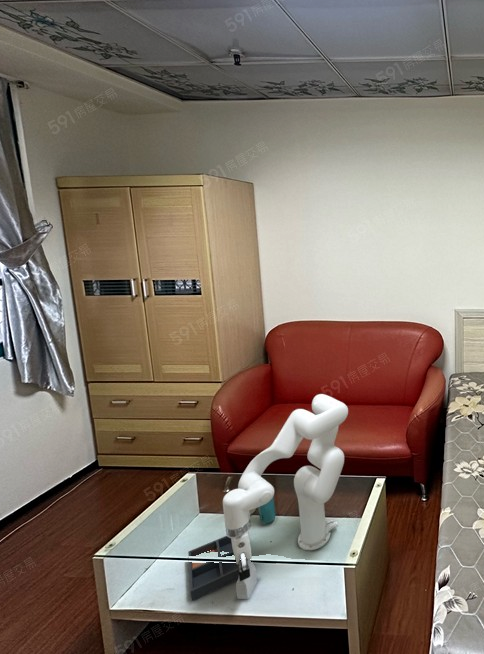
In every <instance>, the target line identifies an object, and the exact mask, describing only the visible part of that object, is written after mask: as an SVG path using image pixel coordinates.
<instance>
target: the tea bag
mask: <svg viewBox="0 0 484 654" xmlns="http://www.w3.org/2000/svg"><path fill="white" fill-rule="evenodd" d="M251 561H252V559H251V560H250V559H249V560H248V566H249V569H250V577H249V578H247V579H245V580H242V581H240V578H238V580H236V583H235V590H236V591H235V592H236V596H237V597H236V598H237V599H238V600H249V599H250V597H251V595H252V593H253V590H254V589H255V587H256V585H257V583H258V572H257V567H256V565H255V564H254V563H253V561H252V562H251Z"/></svg>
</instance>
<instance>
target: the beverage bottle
mask: <svg viewBox="0 0 484 654" xmlns="http://www.w3.org/2000/svg"><path fill="white" fill-rule="evenodd" d="M262 478H263V479H265V480H266V481H267V482H268V483H270V482H269V479H268V478H266V477H262ZM257 509H258V515H259V516H258V517H259V521H260V523H261V524H269V523H271V522H273V521H274V520H275V519H276V515H277V511H276V505H275V499H274V496H273V497H272V499H271V500H270V501H269V502H268V503H266V504H264V505H262V506H260V507H257Z"/></svg>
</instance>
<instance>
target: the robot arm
mask: <svg viewBox="0 0 484 654" xmlns="http://www.w3.org/2000/svg"><path fill="white" fill-rule="evenodd" d="M311 409H312V412H311V411H309V410H306V409H304V408H296V409H295V410H292V412H291V413H290V415H289V416H288V417H287V420H286V421H285V422H284V424H283V426H282V428H281V430H279V433H278V434H277V436H276V437H275V438H274V440H273V442H272V444H271V445H270V446H269V447H267V448H265V449H264V450H263V451H261V452H260V453H259V454H257V455H256V456H255V457H253V459H252V460H251V461H250V462H249V464H248V465H247V467H246V468H245V470H244V471H243V472H242V475H241V476H240V479H239V481H238V483H237V488H234V489H232V490H229V492H227V493H226V494H225V495H224V496H223V499H222V509H223V518H224V526H225V527H224V528H225V536H228V537H229V538H231V542H232V548H233V552H234V556H235V560H236V564H239V578H240V581H242V580H245V579H247V578H249V577H250V569H249V566H248V560H249V559H251V560H252V557H253V556H252V555H253V554H252V547H251V540H250V539H251V538H250V532H249V531H250V530H251V528H252V521H251V515H250V512H249V510H252V509H254V508H256V509H258V507H260V506H262V505H264V504H266V503H268V502H269V501H270V500H271V499H272V497H273V498H274V496H275V487H274V486H273V485H272V484H271V483H270V482H269V481H268V482H269V483H268V482H267V481H266V480H265V479H263V478H264V477H262V474H263V473H264V472H265V470H266V469H267V468H268V466H269V465H271V464H272V463H273V462H275V461H277V460H280V459H290V458H291V457H293V455H294V454H295V452H296V450H297V449H298V448H299V445H300V444H301V442H302V441H303V439H306V440H308V441H309V440H310V441H311V443H310V445H309V448H308V451H307V454H306V456H307V460H308V461H309V462H310V464H312V465H313V466H312V465H304V466H302V467H300V468H299V469H298V470H297V471H296V473H295V475H294V477H293V488H294V491H295V495H296V498H297V503H298V504H297V505H298V513H299V523H300V533H299V535H298V538H297V543H298V546H299V548H300V549H302V550H305V551H314V550H318V549H320V548H322V547H323V546H324V545H326V544H327V543H328V542H329V540H330V538H331V530H332V529H333V528H336V527H339V523H338V520H336V521H334V520H333V518H332V519H328V520H326V509H325V503H327V502H328V501H329V500H331V497H332V496H333V494H334V492H335V490H336V487H337V485H338V482H339V479H340V476H341V473H342V471H343V467H344V465H345V454H344V452H343V450H342V449H341V448H339V447H338V446H336V445H335V443H336V440H337V439H336V438H337V436H338V432H339V426H340V425H342V424H343V423H344V422H345V421H346V419H347V417H348V415H349V408H348V406H347V405H346V404H345V403H344V402H343V401H340V400H338V399H336V398H335V397H332V396H330V395H327V394H325V393H324V394H323V393H319V394H316V395H315V396H314V397H313V399H312V401H311ZM305 548H307V549H305ZM245 557H246V559H245ZM240 559H241V561H240ZM240 563H242V567H241V564H240Z"/></svg>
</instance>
